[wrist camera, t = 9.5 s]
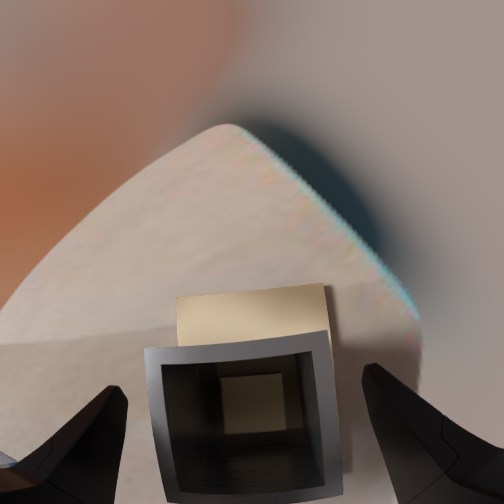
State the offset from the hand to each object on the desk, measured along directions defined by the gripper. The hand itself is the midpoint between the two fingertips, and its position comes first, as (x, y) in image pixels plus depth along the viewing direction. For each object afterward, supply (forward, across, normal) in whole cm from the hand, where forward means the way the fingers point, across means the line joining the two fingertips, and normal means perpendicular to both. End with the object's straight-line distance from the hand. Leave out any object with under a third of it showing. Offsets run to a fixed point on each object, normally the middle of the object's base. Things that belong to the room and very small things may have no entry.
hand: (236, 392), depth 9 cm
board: (+6, 0, +8) cm, 10 cm away
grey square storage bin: (+5, 0, +7) cm, 8 cm away
